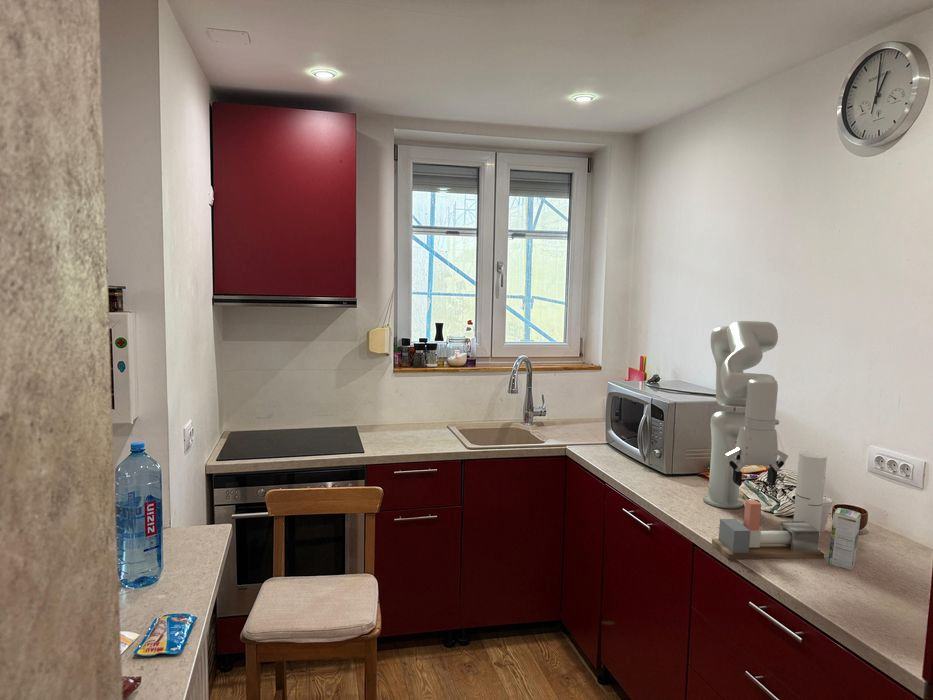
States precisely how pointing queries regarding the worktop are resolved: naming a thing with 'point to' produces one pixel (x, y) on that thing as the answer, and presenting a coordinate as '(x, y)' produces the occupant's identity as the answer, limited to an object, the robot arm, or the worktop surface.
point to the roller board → (782, 545)
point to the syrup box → (844, 538)
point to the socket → (734, 535)
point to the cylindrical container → (810, 488)
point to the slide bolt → (753, 525)
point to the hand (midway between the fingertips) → (754, 483)
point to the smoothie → (825, 512)
